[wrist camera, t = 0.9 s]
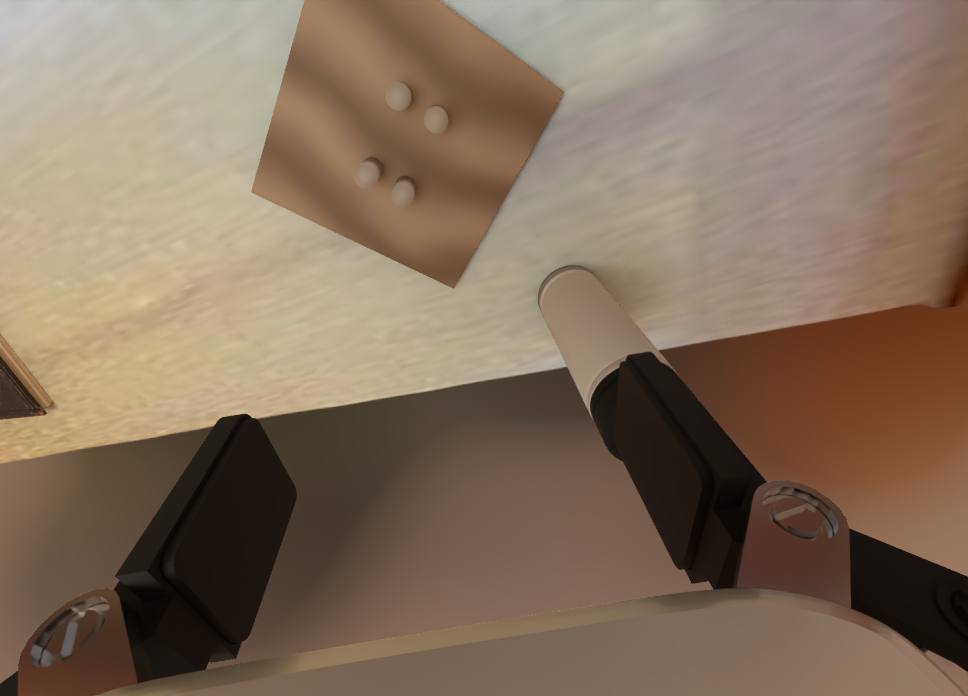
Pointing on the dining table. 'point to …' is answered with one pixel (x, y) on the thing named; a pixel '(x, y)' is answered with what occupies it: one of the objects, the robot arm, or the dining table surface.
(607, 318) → the travel mug
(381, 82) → the peg board
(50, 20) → the dining table surface
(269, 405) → the dining table surface
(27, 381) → the hardcover book
